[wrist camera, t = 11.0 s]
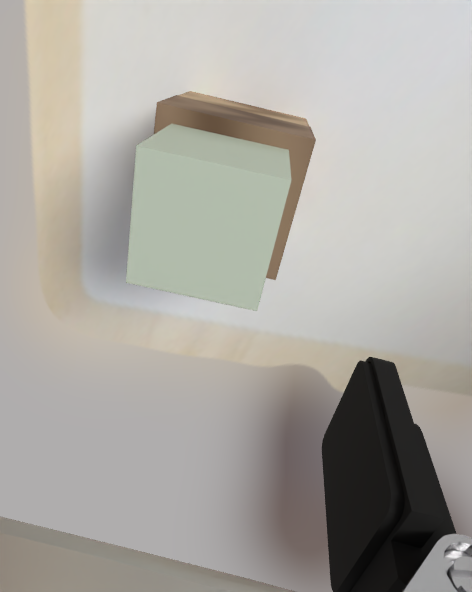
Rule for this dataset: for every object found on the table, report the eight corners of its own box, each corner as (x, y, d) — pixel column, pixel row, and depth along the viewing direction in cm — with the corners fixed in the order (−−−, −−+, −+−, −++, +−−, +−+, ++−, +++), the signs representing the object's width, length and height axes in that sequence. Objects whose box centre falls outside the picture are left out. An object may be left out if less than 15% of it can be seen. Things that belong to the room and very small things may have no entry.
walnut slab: (310, 126, 25) (315, 139, 21) (276, 249, 29) (275, 279, 25) (176, 95, 25) (157, 102, 21) (160, 223, 29) (141, 249, 25)
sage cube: (288, 149, 21) (291, 180, 16) (262, 256, 24) (257, 311, 19) (171, 123, 21) (136, 145, 16) (159, 233, 24) (125, 282, 19)
